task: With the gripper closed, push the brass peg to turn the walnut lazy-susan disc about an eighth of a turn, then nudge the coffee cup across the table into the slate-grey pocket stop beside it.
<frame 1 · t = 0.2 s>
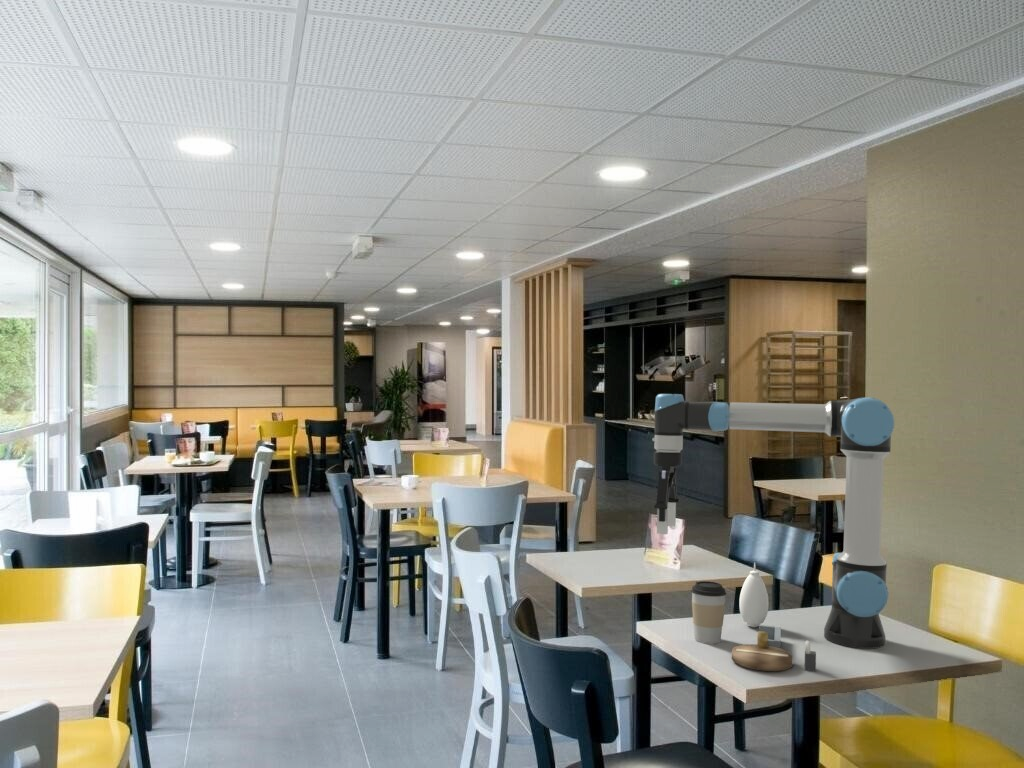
hand: (666, 529, 226), 28 cm above the table, fingers open, 13 cm apart
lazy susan: (761, 649, 202), point 3 cm above the table, hinge at 0.0°
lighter: (810, 669, 198), on the table
pocket stop: (777, 647, 215), on the table
coffee cup: (707, 640, 220), on the table
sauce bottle: (753, 627, 234), on the table
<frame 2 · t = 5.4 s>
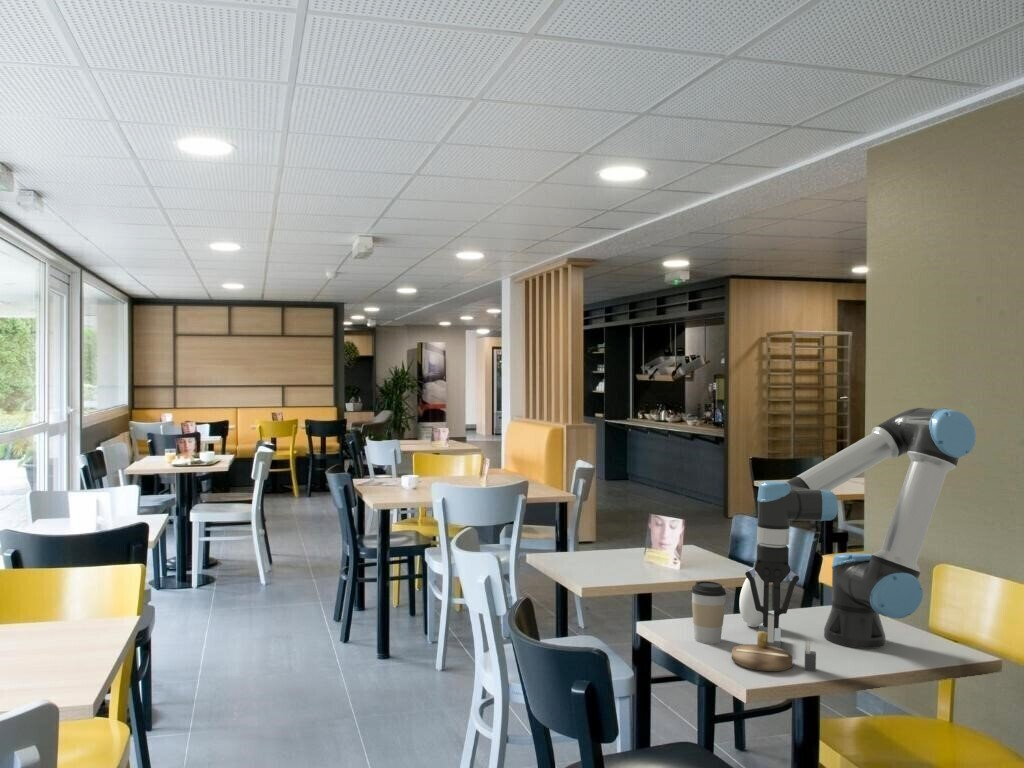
hand: (770, 640, 205), 5 cm above the table, fingers closed
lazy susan: (761, 649, 202), point 3 cm above the table, hinge at 0.0°, touching gripper
everything else where it was.
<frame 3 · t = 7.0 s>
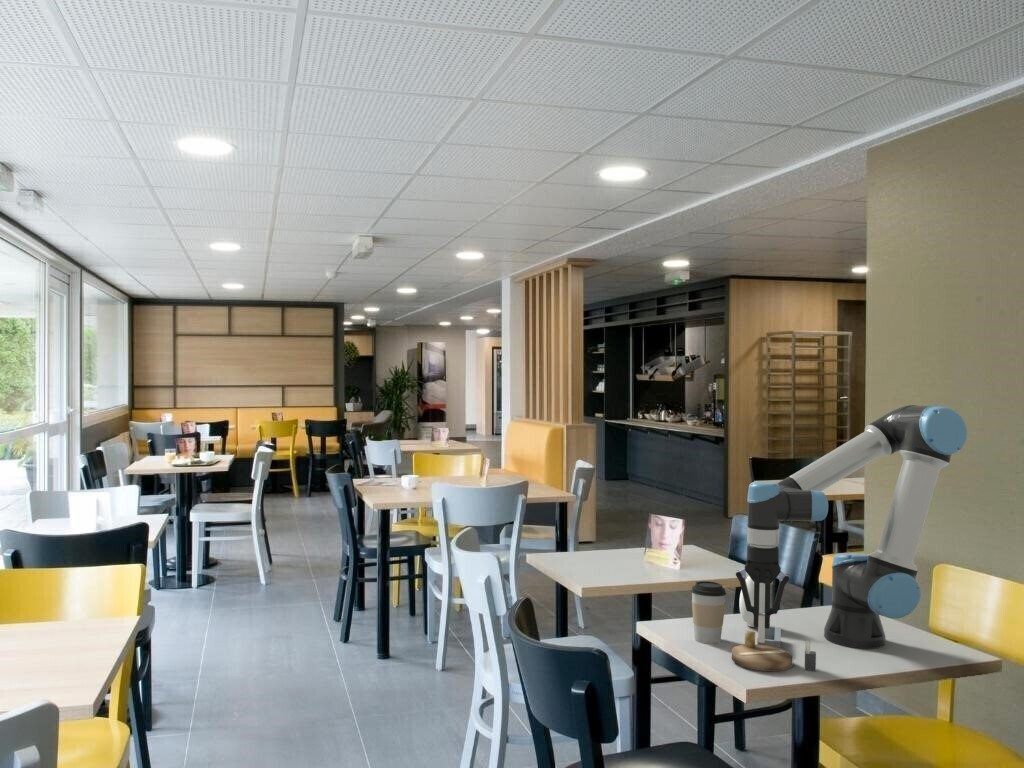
hand: (761, 640, 206), 4 cm above the table, fingers closed
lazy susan: (761, 649, 202), point 3 cm above the table, hinge at 32.7°
everything else where it was.
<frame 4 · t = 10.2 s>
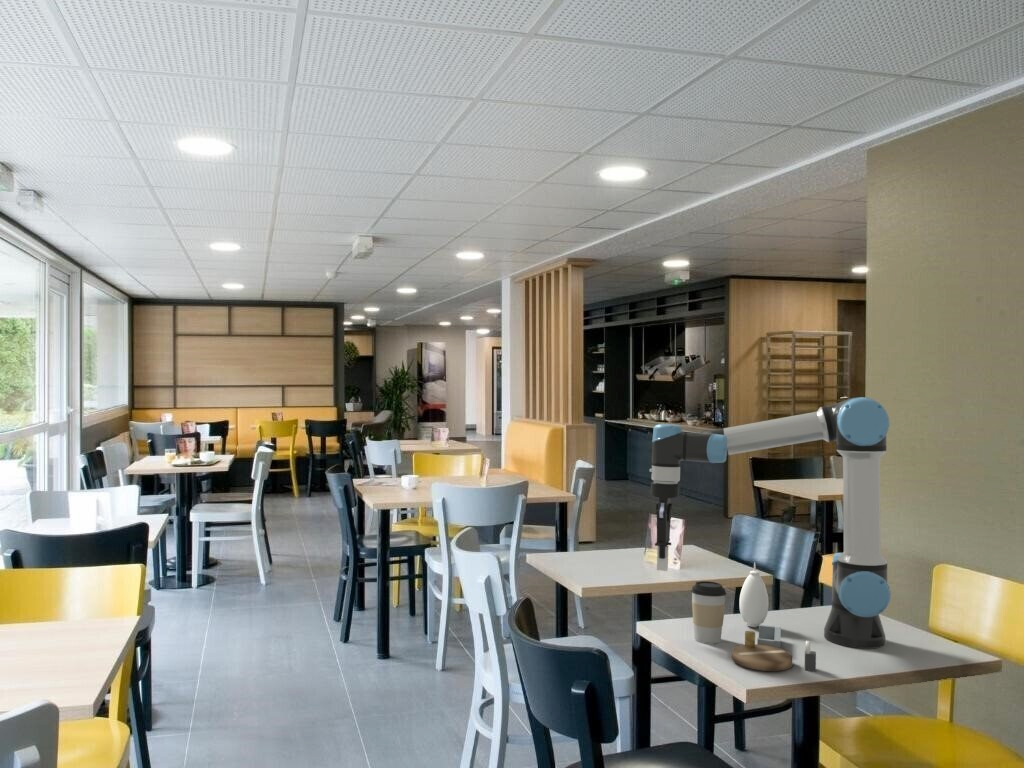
hand: (662, 569, 224), 17 cm above the table, fingers closed
nothing on the table moved.
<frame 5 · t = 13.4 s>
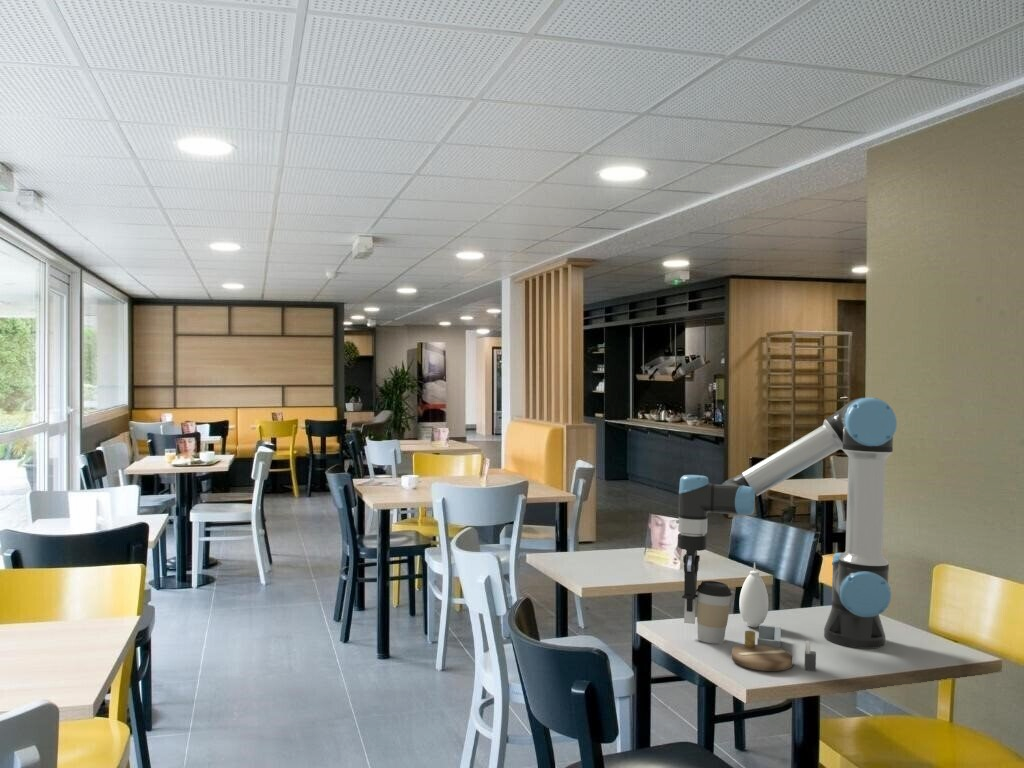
hand: (689, 622, 222), 4 cm above the table, fingers closed
coffee cup: (710, 640, 220), on the table, touching gripper
everything else where it was.
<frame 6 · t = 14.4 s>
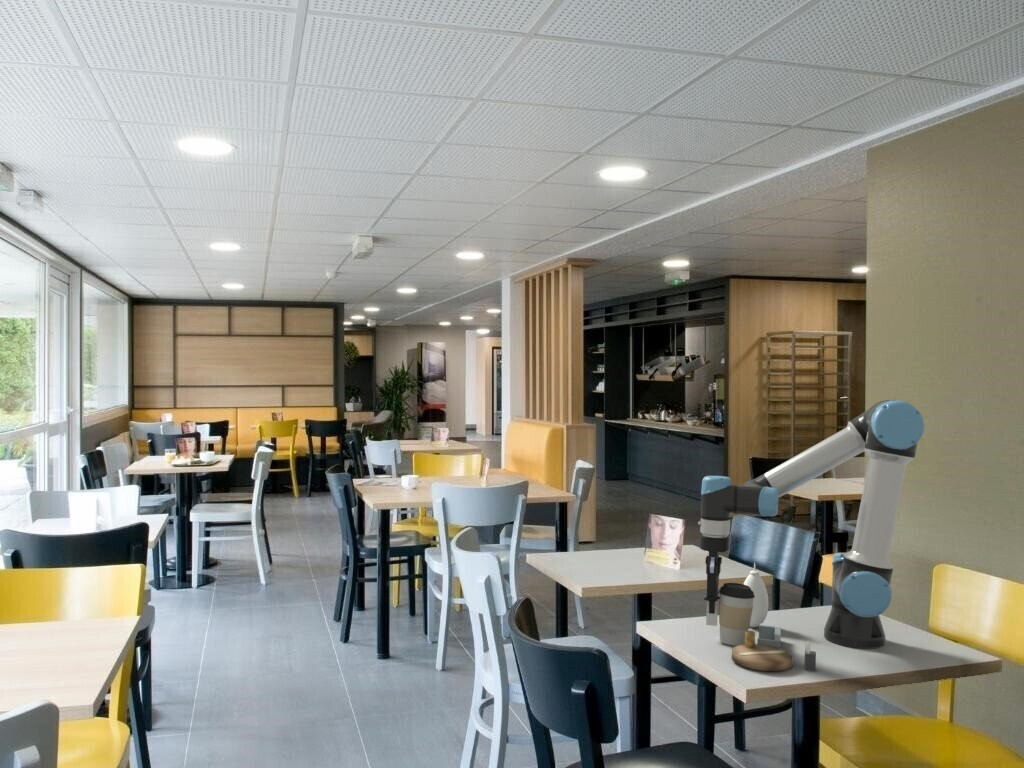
hand: (711, 624, 220), 4 cm above the table, fingers closed
coffee cup: (732, 642, 219), on the table, touching gripper
everything else where it was.
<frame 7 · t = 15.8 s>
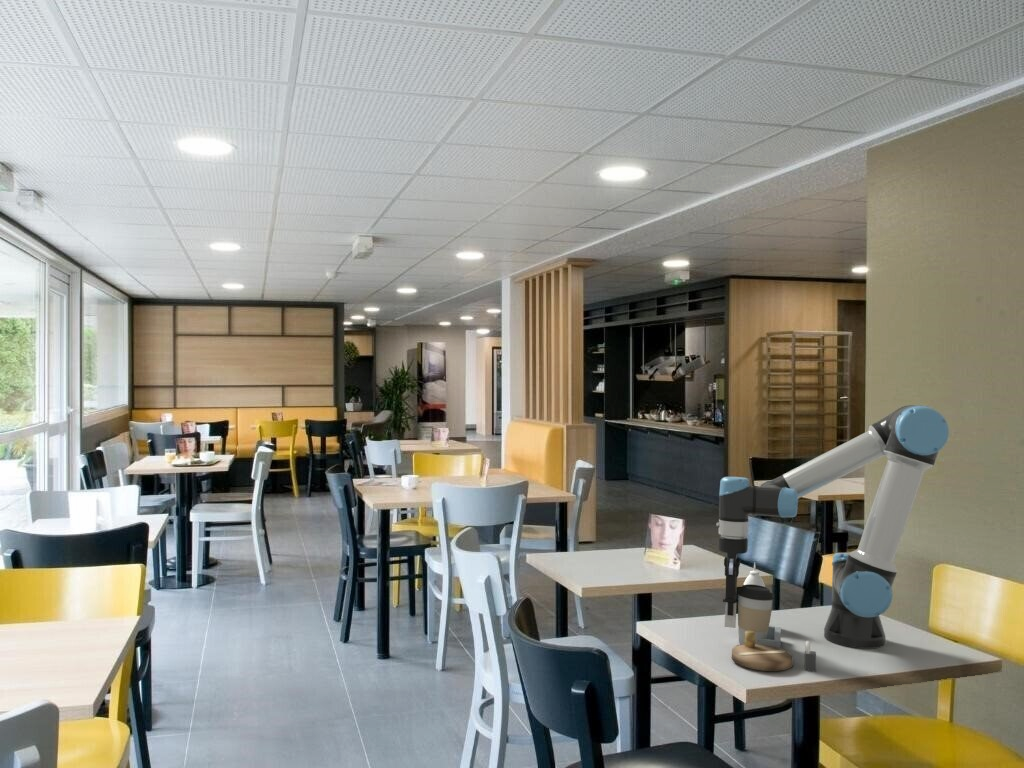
hand: (730, 626, 219), 4 cm above the table, fingers closed
coffee cup: (751, 644, 217), on the table, touching gripper
everything else where it was.
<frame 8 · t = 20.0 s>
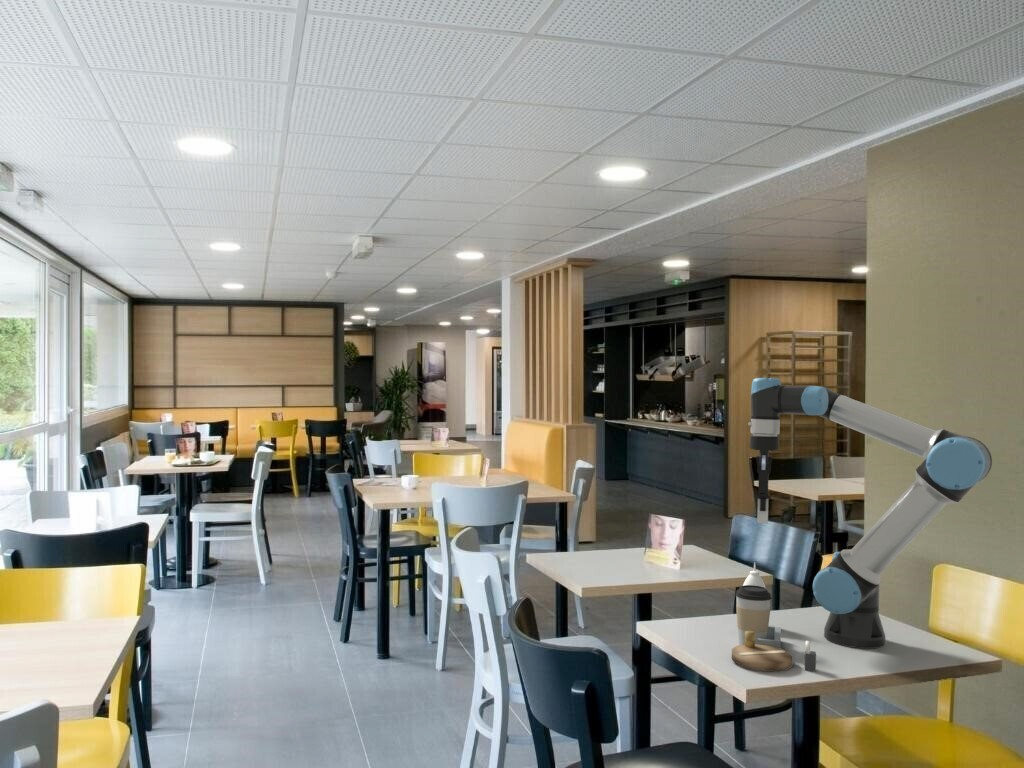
hand: (762, 522, 225), 30 cm above the table, fingers closed
coffee cup: (752, 645, 217), on the table
everything else where it was.
at the end: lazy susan at +33° (first picture: +0°); coffee cup inside the target area (0.5 cm from its centre), on the table; coffee cup tilted 0° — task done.
